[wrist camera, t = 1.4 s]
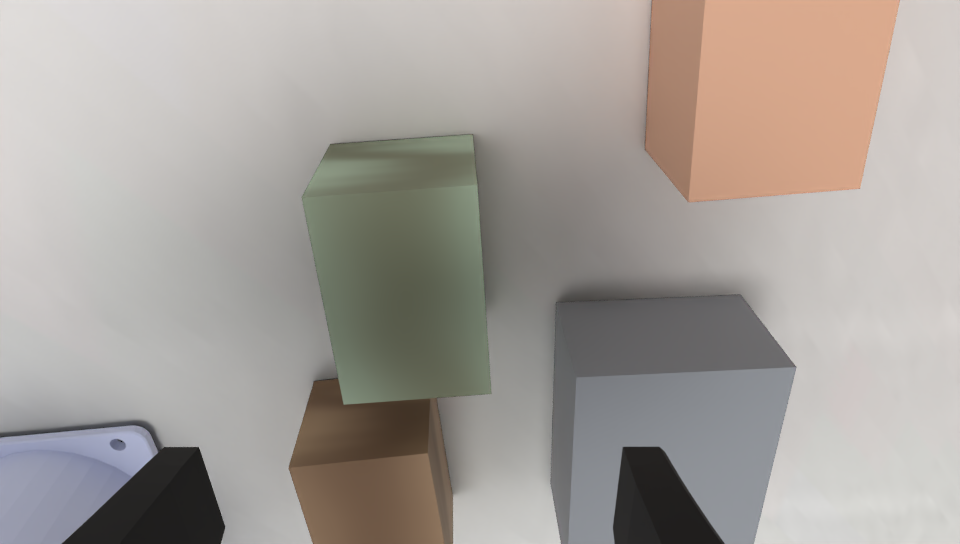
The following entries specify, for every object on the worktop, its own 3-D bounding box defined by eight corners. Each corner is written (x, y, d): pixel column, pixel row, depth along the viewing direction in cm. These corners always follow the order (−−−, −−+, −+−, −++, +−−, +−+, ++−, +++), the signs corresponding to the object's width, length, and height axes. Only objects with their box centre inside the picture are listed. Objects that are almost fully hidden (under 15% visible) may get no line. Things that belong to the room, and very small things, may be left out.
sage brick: (361, 324, 21) (343, 404, 18) (330, 144, 19) (301, 197, 15) (484, 315, 21) (491, 394, 18) (472, 134, 19) (477, 184, 15)
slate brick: (550, 482, 25) (566, 574, 22) (555, 301, 21) (576, 377, 18) (707, 475, 25) (748, 565, 22) (739, 293, 22) (796, 367, 18)
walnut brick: (348, 507, 25) (332, 602, 22) (314, 381, 22) (288, 467, 19) (452, 496, 25) (453, 590, 22) (431, 369, 22) (427, 453, 19)
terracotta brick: (645, 149, 19) (688, 202, 15) (656, -89, 16) (712, -91, 13) (784, 138, 19) (860, 188, 15) (820, -102, 16) (922, -108, 13)
